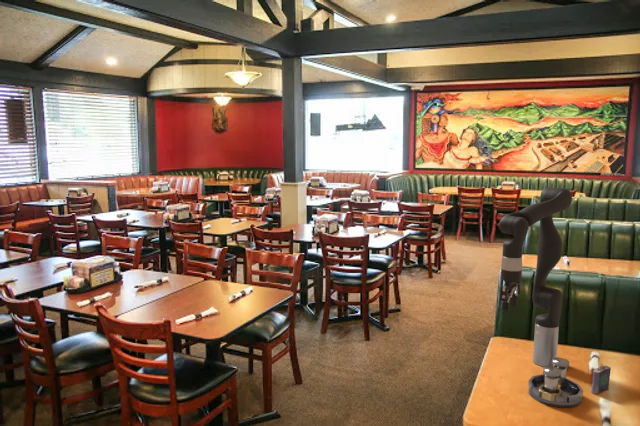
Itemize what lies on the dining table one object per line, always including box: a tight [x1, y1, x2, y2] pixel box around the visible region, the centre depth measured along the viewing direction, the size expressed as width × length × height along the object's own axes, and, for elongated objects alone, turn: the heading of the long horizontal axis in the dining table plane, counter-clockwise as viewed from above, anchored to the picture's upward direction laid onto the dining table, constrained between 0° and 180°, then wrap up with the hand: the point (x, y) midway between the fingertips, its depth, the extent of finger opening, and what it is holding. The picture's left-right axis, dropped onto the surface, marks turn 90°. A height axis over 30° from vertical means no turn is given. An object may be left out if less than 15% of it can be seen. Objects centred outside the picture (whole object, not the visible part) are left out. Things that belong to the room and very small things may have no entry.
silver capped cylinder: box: [542, 366, 561, 394], centre depth 185 cm, size 6×6×10 cm
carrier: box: [527, 356, 584, 409], centre depth 189 cm, size 18×18×12 cm
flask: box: [591, 363, 612, 396], centre depth 193 cm, size 9×3×11 cm, turn 121°
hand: (509, 308), depth 197 cm, fingers open, 8 cm apart
